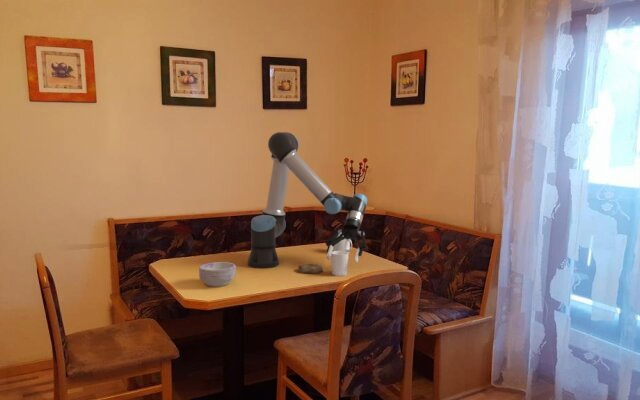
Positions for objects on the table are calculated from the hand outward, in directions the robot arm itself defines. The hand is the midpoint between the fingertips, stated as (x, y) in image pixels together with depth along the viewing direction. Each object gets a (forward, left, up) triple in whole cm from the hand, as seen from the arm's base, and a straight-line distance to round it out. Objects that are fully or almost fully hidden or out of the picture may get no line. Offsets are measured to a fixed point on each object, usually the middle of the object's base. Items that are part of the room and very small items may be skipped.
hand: (341, 259), depth 235 cm
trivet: (-13, +8, -7) cm, 17 cm away
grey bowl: (-56, -5, -7) cm, 56 cm away
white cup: (-1, 0, -7) cm, 7 cm away
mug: (+12, +39, -7) cm, 42 cm away
